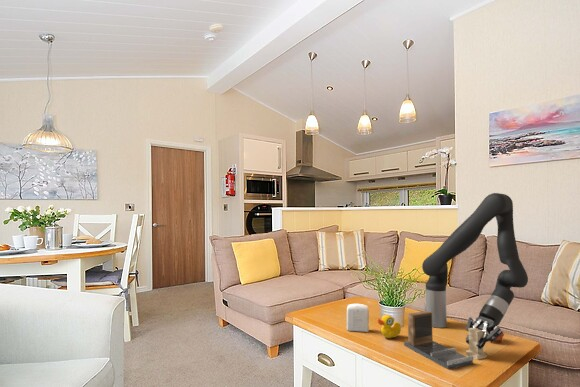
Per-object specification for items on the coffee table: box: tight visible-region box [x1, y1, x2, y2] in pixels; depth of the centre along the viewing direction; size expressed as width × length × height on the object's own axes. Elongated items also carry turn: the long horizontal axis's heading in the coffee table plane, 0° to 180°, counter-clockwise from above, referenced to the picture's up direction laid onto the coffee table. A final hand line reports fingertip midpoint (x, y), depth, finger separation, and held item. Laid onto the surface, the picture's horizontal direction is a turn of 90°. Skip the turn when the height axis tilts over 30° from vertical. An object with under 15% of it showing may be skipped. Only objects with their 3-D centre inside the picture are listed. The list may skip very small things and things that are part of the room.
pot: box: [490, 331, 505, 344], centre depth 148 cm, size 8×8×7 cm
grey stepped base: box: [403, 340, 474, 370], centre depth 135 cm, size 23×12×3 cm, turn 22°
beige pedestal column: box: [465, 328, 488, 360], centre depth 133 cm, size 5×5×10 cm
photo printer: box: [346, 303, 370, 333], centre depth 162 cm, size 10×4×12 cm, turn 81°
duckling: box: [377, 314, 401, 339], centre depth 152 cm, size 11×5×10 cm, turn 109°
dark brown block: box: [407, 310, 434, 345], centre depth 143 cm, size 4×10×12 cm, turn 112°
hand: (473, 344), depth 133 cm, fingers closed on beige pedestal column, 4 cm apart
